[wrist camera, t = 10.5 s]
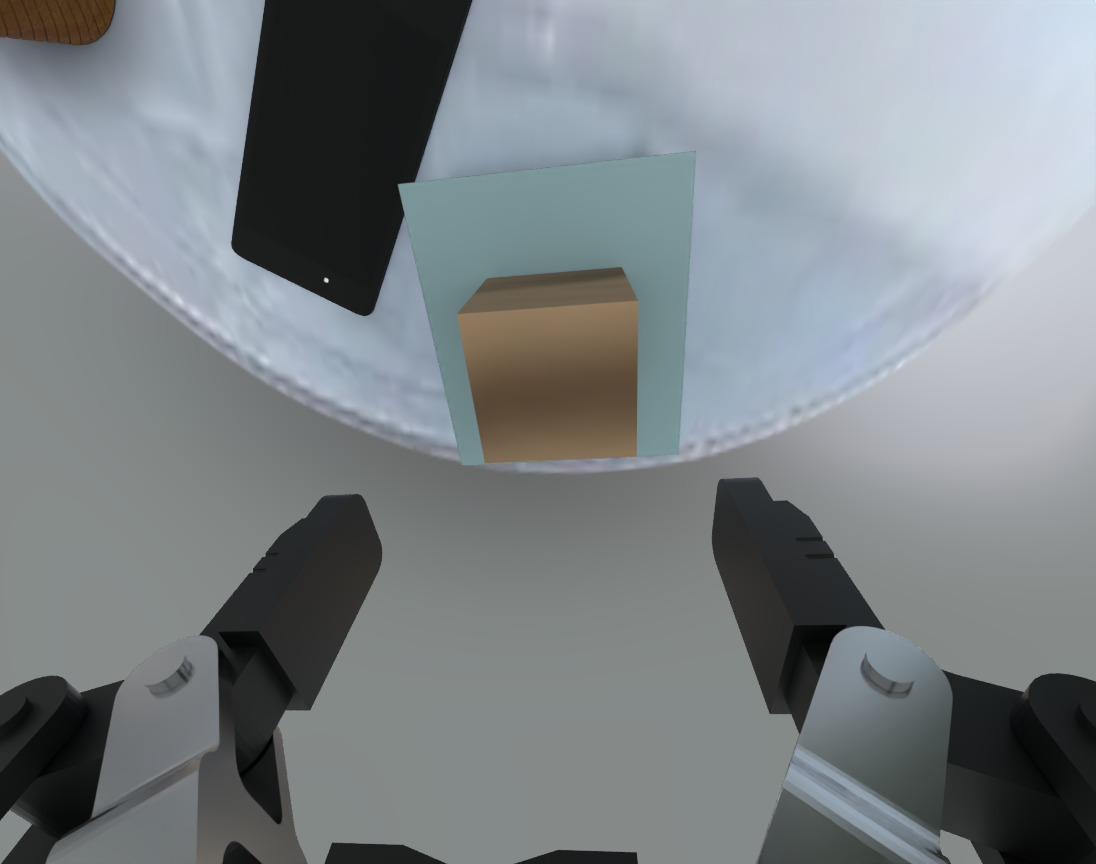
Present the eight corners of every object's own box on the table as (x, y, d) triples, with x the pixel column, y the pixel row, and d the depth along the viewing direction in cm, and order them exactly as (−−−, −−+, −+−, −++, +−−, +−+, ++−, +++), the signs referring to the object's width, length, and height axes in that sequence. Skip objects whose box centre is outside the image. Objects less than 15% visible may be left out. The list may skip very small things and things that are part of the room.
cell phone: (478, -11, 22) (474, -18, 21) (373, 316, 30) (367, 320, 29) (296, -132, 20) (284, -145, 19) (238, 249, 28) (229, 252, 28)
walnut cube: (487, 278, 20) (456, 314, 15) (621, 266, 20) (638, 300, 14) (505, 398, 23) (485, 463, 18) (622, 391, 23) (636, 456, 17)
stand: (446, 181, 25) (397, 184, 19) (661, 157, 24) (695, 150, 17) (486, 402, 32) (461, 465, 25) (655, 392, 31) (678, 454, 24)
